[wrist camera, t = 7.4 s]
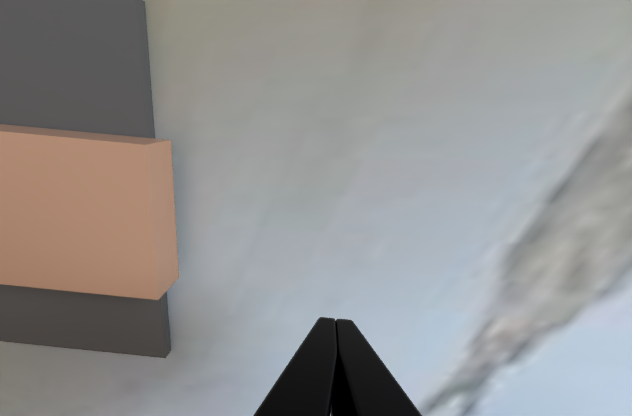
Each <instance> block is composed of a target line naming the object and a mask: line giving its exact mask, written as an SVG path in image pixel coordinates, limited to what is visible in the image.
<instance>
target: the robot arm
mask: <svg viewBox="0 0 632 416" xmlns="http://www.w3.org/2000/svg"><path fill="white" fill-rule="evenodd" d="M330 413H331V416H422V415H421V414H420V412H419V411H418V410H417V408H416V407H415V406H414V404H413V403H412V401H411V400H410V399H409V397H408V396H407V395H406V393H405V392H404V391H403V389H402V388H401V386H400V385H399V384H398V382H397V381H396V380H395V378H394V377H393V376H392V374H391V373H390V371H389V370H388V369H387V367H386V366H385V365H384V363H383V362H382V361H381V359H380V358H379V356H378V355H377V354H376V352H375V351H374V350H373V348H372V347H371V346H370V344H369V343H368V341H367V340H366V339H365V337H364V336H363V335H362V333H361V332H360V331H359V329H358V328H357V326H356V325H355V324H354V322H353V321H352V320H347V319H337V320H336V321H335V319H334V318H325V317H320V318H319V319H318V320H317V322H316V323H315V325H314V326H313V328H312V329H311V331H310V332H309V334H308V335H307V337H306V338H305V340H304V341H303V343H302V344H301V346H300V347H299V348H298V350H297V351H296V353H295V354H294V356H293V357H292V359H291V360H290V362H289V363H288V365H287V366H286V368H285V369H284V371H283V372H282V374H281V375H280V377H279V378H278V380H277V381H276V383H275V384H274V386H273V387H272V389H271V390H270V392H269V393H268V395H267V396H266V398H265V399H264V401H263V402H262V404H261V405H260V407H259V408H258V410H257V411H256V413H255V414H254V416H330Z"/></svg>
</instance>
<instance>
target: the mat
mask: <svg viewBox="0 0 632 416" xmlns="http://www.w3.org/2000/svg"><path fill="white" fill-rule="evenodd" d="M0 124H5V125H16V126H27V127H37V128H48V129H59V130H69V131H80V132H90V133H101V134H112V135H122V136H133V137H143V138H154V139H155V133H154V120H153V106H152V93H151V80H150V66H149V53H148V39H147V26H146V13H145V2H144V1H143V0H0ZM0 341H6V342H16V343H25V344H35V345H45V346H54V347H64V348H74V349H83V350H93V351H103V352H112V353H122V354H131V355H141V356H151V357H160V358H166V357H167V355H168V354H169V352H170V351H171V346H170V333H169V320H168V306H167V293H166V292H165V293H164V294H163V295H162V297H161V298H160V299H159V300H153V299H143V298H133V297H123V296H113V295H103V294H93V293H83V292H73V291H63V290H53V289H43V288H33V287H23V286H13V285H3V284H0Z"/></svg>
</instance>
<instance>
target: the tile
mask: <svg viewBox="0 0 632 416" xmlns="http://www.w3.org/2000/svg"><path fill="white" fill-rule="evenodd" d="M178 278H179V267H178V251H177V234H176V218H175V201H174V184H173V168H172V151H171V140H165V139H154V138H143V137H133V136H122V135H112V134H101V133H90V132H80V131H69V130H59V129H48V128H37V127H27V126H16V125H5V124H0V284H3V285H13V286H23V287H33V288H43V289H53V290H63V291H73V292H83V293H93V294H103V295H113V296H123V297H133V298H143V299H153V300H159V299H160V298H161V297H162V295H163V294H164V293H165V292H166V291H167V290H168V289H169V288H170V287H171V285H172V284H173V283H174V282H175V281H176V280H177V279H178Z"/></svg>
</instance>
